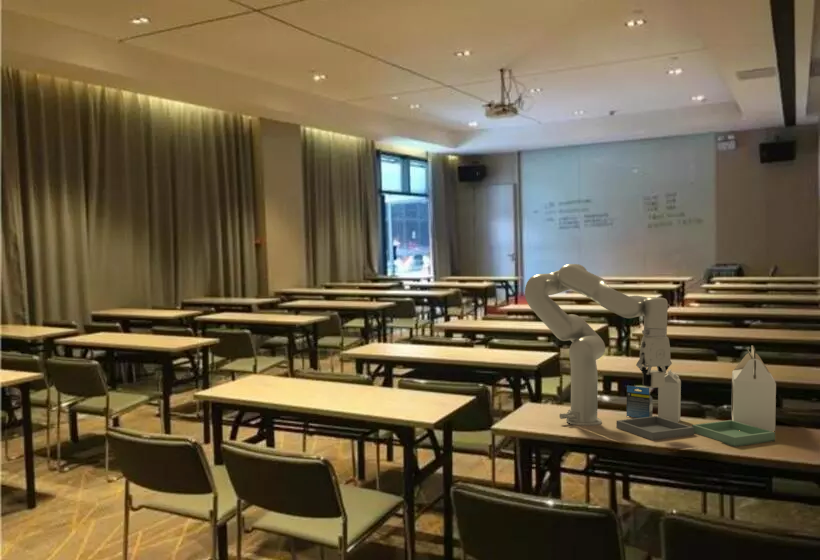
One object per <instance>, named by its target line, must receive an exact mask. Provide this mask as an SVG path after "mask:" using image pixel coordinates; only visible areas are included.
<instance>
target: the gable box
mask: <svg viewBox="0 0 820 560" xmlns="http://www.w3.org/2000/svg"><path fill="white" fill-rule="evenodd" d="M746 349H747V353H746V354H745V355H744V356H743V357H742V359H741V360H740V361H739V363H738V364H737V365H736V366H735V368H734V369H733V370H732V372H731V420H732V421H736V422H740V423H743V424H747V425H751V426H754V427H758V428H762V429H766V430H769V431H775V432H776V412H777V411H776V408H777V407H776V405H777V404H776V403H777V398H776V397H777V396H776V395H777V382H776V380H775V378H774V377H773V374H772V373H771V372H770V370H769V369H768V367H767V366H766V364H765V363H764V362H763V360H762V358H761V357H760V356H759V354H758V353H756V348H755V346H754V345H751V350H749V348H748V347H746Z"/></svg>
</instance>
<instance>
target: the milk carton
mask: <svg viewBox="0 0 820 560" xmlns="http://www.w3.org/2000/svg"><path fill="white" fill-rule="evenodd" d="M667 371H668V373H667V374H665V383H664V387H657V394H658V395H657V401H658V402H657V416H658V417H661V418H665V419H668V420H671V421H675V422H679V423H680V421H681V410H682V409H681V407H682V406H681V399H682V395H681V394H682V393H681V392H682V391H681V390H682V388H681V387H682V380H681V379H680V376H679V375H678V374H677V373H673V372H672V368H670V369H669V370H667Z"/></svg>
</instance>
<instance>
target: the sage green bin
mask: <svg viewBox="0 0 820 560" xmlns="http://www.w3.org/2000/svg"><path fill="white" fill-rule="evenodd" d="M691 427H694V434H697V435H699V436H702V437H706V438H710V439H712V440H716V441H719V442H721V443H723V444H725V445H727V446H730V447H733V448H736V447H744V446H748V445H757V444H763V443H771V441H772V442H776V431H775V432H773V431H769V430H766V429H762V428H758V427H754V426H751V425H747V424H743V423H740V422H736V421H732V419H728V420H721V421H712V422H704V423H697V424H696V423H695V424H691ZM739 430H740V431H739Z"/></svg>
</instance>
